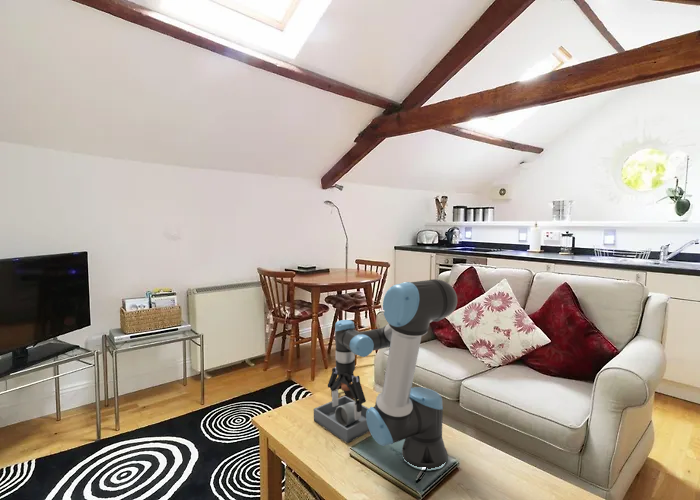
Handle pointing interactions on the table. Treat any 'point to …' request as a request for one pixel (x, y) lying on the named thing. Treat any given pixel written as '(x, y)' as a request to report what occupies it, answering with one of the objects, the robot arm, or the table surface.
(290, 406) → the table surface
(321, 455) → the table surface
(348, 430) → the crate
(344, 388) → the brown clay vessel
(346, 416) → the ceramic mug
